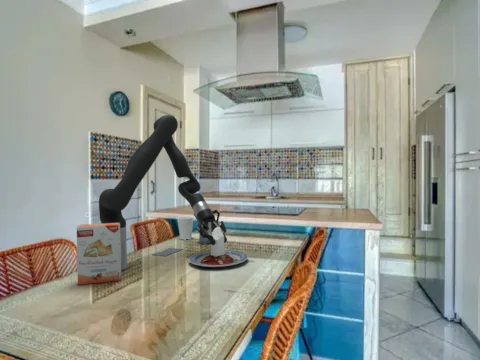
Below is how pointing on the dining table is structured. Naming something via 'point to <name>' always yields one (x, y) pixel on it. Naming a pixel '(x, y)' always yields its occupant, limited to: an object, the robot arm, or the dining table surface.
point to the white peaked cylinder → (217, 242)
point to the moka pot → (201, 239)
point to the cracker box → (98, 253)
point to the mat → (167, 252)
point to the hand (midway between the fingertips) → (220, 242)
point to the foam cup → (185, 227)
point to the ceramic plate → (218, 259)
